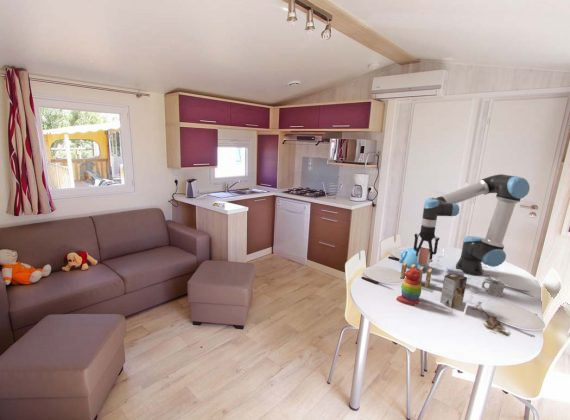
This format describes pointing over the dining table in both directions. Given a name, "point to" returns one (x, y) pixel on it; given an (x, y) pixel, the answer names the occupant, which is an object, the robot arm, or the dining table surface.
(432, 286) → the domino mat
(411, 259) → the decorative pot
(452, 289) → the coffee box
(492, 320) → the frog figurine
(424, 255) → the domino
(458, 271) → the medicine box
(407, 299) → the stacking bear
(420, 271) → the domino
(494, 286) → the mug
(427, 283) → the domino
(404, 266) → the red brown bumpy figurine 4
